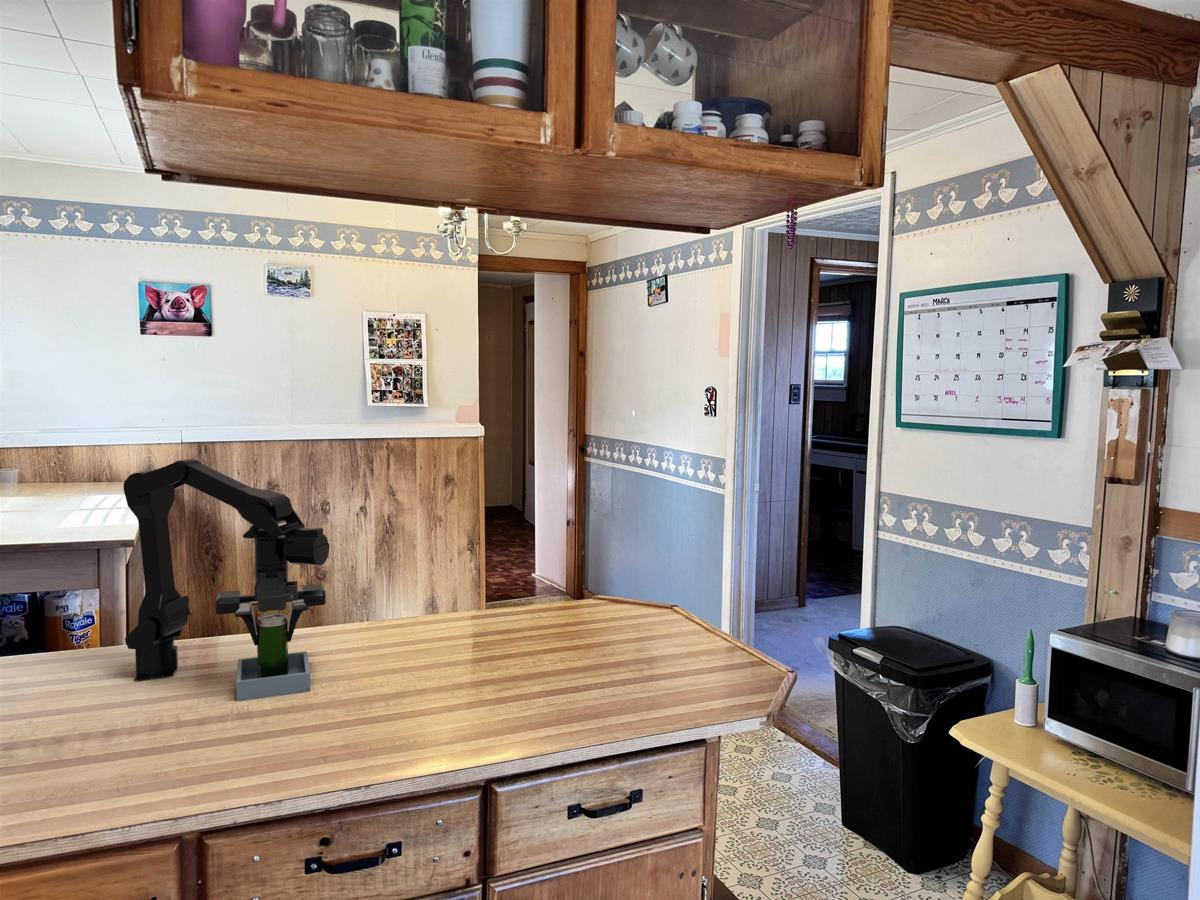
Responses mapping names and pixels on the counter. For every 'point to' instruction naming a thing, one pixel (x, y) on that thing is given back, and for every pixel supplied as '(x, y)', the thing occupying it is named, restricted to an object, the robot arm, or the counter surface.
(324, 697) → the counter surface
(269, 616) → the beer can
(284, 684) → the box
